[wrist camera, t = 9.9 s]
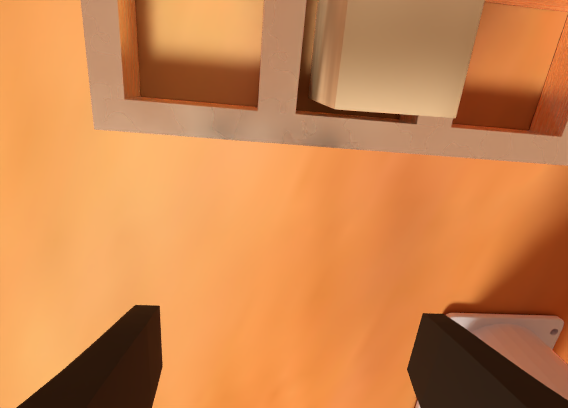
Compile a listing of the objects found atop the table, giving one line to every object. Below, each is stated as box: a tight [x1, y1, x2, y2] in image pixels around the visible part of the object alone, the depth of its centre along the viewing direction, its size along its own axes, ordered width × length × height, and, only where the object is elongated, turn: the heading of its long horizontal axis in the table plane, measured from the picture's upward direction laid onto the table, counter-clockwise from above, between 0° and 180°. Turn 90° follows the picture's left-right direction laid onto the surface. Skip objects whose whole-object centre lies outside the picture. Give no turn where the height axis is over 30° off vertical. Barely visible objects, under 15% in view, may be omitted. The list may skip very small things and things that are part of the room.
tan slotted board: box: [81, 0, 568, 166], centre depth 15 cm, size 8×22×2 cm, turn 85°
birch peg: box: [308, 0, 485, 118], centre depth 13 cm, size 4×4×6 cm
